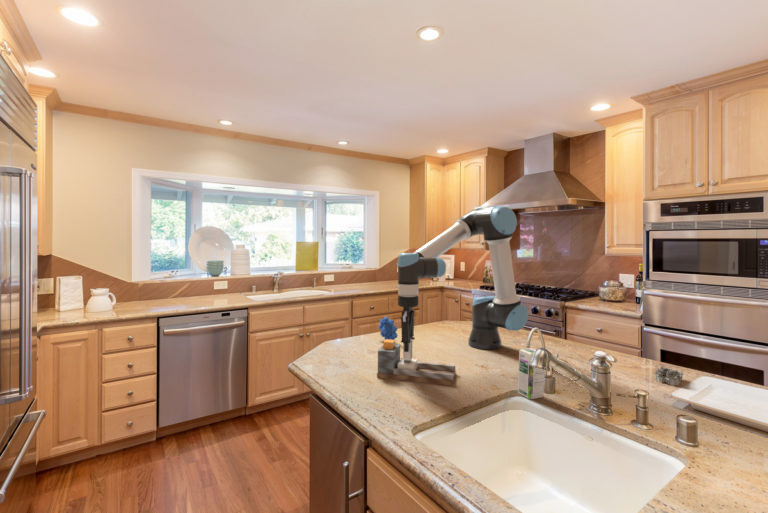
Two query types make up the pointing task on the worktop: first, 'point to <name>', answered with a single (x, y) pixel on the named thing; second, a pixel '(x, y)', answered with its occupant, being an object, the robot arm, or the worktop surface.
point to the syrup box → (529, 376)
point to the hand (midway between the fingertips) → (407, 358)
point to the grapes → (388, 329)
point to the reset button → (389, 344)
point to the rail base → (423, 373)
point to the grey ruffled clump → (668, 376)
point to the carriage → (408, 362)
